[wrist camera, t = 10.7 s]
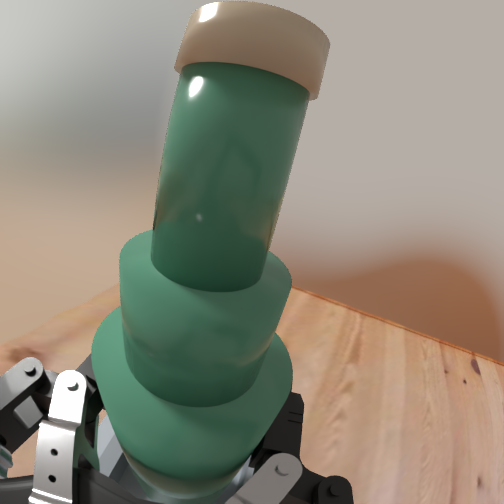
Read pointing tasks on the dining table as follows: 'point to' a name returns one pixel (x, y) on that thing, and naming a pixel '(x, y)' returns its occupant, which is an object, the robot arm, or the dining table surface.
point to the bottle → (211, 258)
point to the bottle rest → (121, 472)
